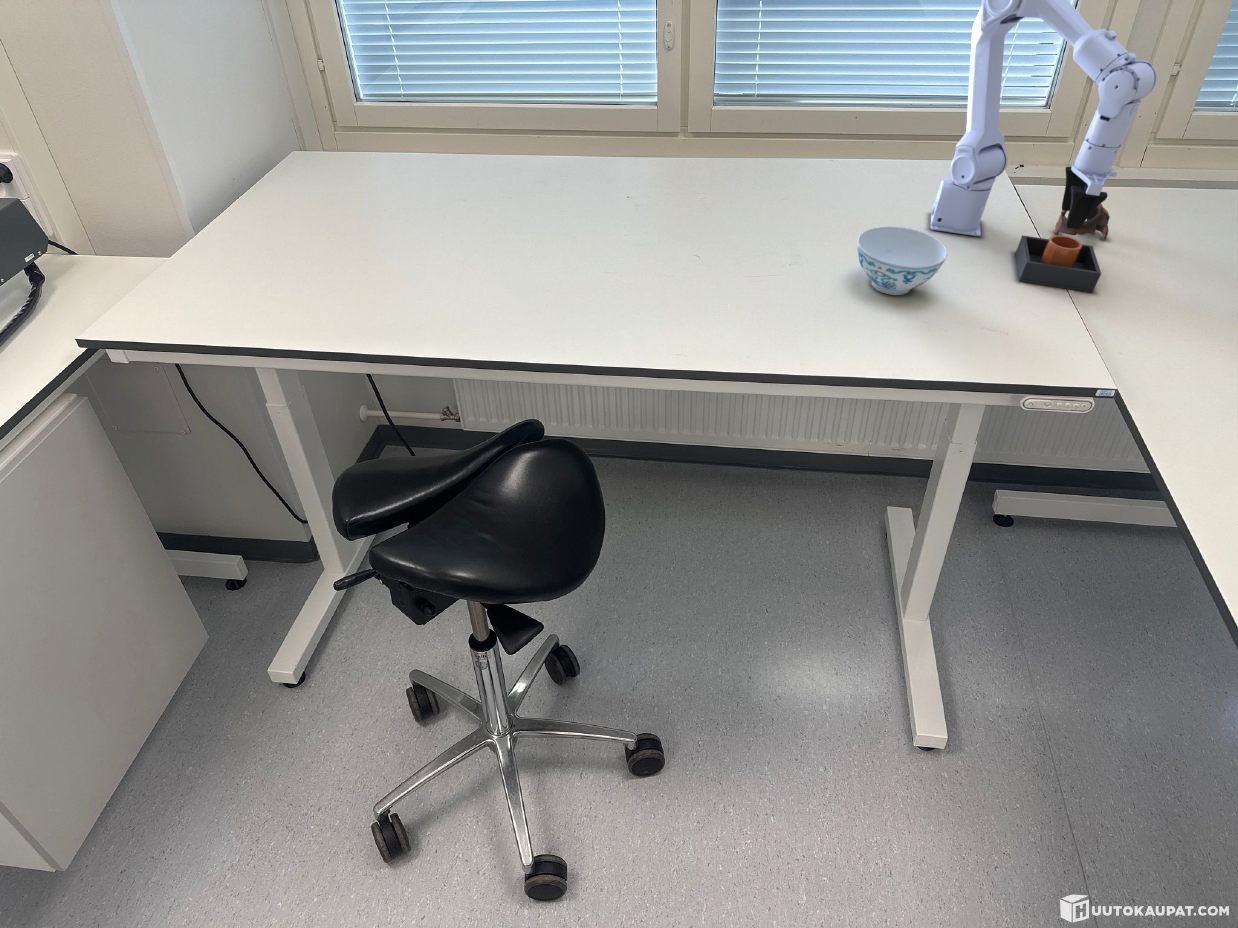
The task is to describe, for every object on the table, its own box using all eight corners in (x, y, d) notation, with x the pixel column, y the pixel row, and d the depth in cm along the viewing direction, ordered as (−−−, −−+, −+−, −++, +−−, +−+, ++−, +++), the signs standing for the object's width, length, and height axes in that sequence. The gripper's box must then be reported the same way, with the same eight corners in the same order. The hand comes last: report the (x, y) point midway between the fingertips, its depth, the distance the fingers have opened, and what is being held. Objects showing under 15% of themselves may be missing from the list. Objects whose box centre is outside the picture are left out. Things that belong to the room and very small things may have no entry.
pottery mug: (1115, 249, 157) (1115, 218, 151) (1061, 263, 161) (1059, 233, 155) (1099, 209, 164) (1099, 177, 158) (1048, 223, 168) (1046, 193, 162)
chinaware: (887, 315, 135) (899, 273, 130) (831, 275, 145) (840, 235, 140) (952, 296, 141) (966, 256, 135) (894, 259, 150) (905, 220, 145)
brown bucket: (1045, 277, 146) (1057, 249, 142) (1033, 262, 150) (1044, 235, 146) (1074, 277, 146) (1087, 249, 142) (1061, 263, 150) (1073, 235, 146)
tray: (1019, 281, 145) (1026, 262, 143) (1015, 253, 154) (1022, 235, 151) (1092, 293, 143) (1101, 273, 140) (1084, 264, 151) (1092, 245, 149)
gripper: (1136, 160, 128) (1099, 239, 137) (1122, 130, 138) (1088, 206, 147) (1088, 154, 129) (1055, 233, 138) (1078, 125, 140) (1048, 200, 149)
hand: (1070, 218), depth 143 cm, fingers open, 7 cm apart
